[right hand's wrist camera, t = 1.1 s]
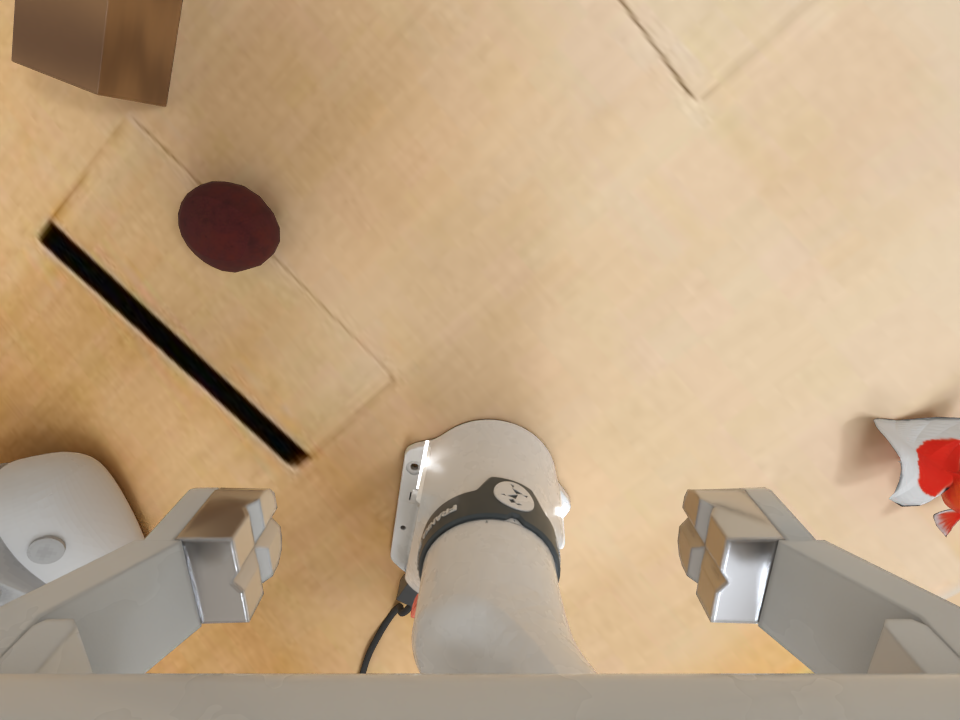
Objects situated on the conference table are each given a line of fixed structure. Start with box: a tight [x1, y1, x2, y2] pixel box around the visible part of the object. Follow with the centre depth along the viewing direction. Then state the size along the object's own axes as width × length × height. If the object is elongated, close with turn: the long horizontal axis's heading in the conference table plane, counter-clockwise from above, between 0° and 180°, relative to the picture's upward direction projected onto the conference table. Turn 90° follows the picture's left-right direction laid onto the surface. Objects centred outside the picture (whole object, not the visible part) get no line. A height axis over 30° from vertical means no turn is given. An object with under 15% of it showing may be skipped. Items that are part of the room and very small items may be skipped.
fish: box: [874, 417, 960, 536], centre depth 51 cm, size 11×16×10 cm
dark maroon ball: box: [178, 181, 280, 272], centre depth 44 cm, size 7×8×7 cm
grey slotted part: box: [0, 452, 145, 606], centre depth 52 cm, size 22×23×15 cm
